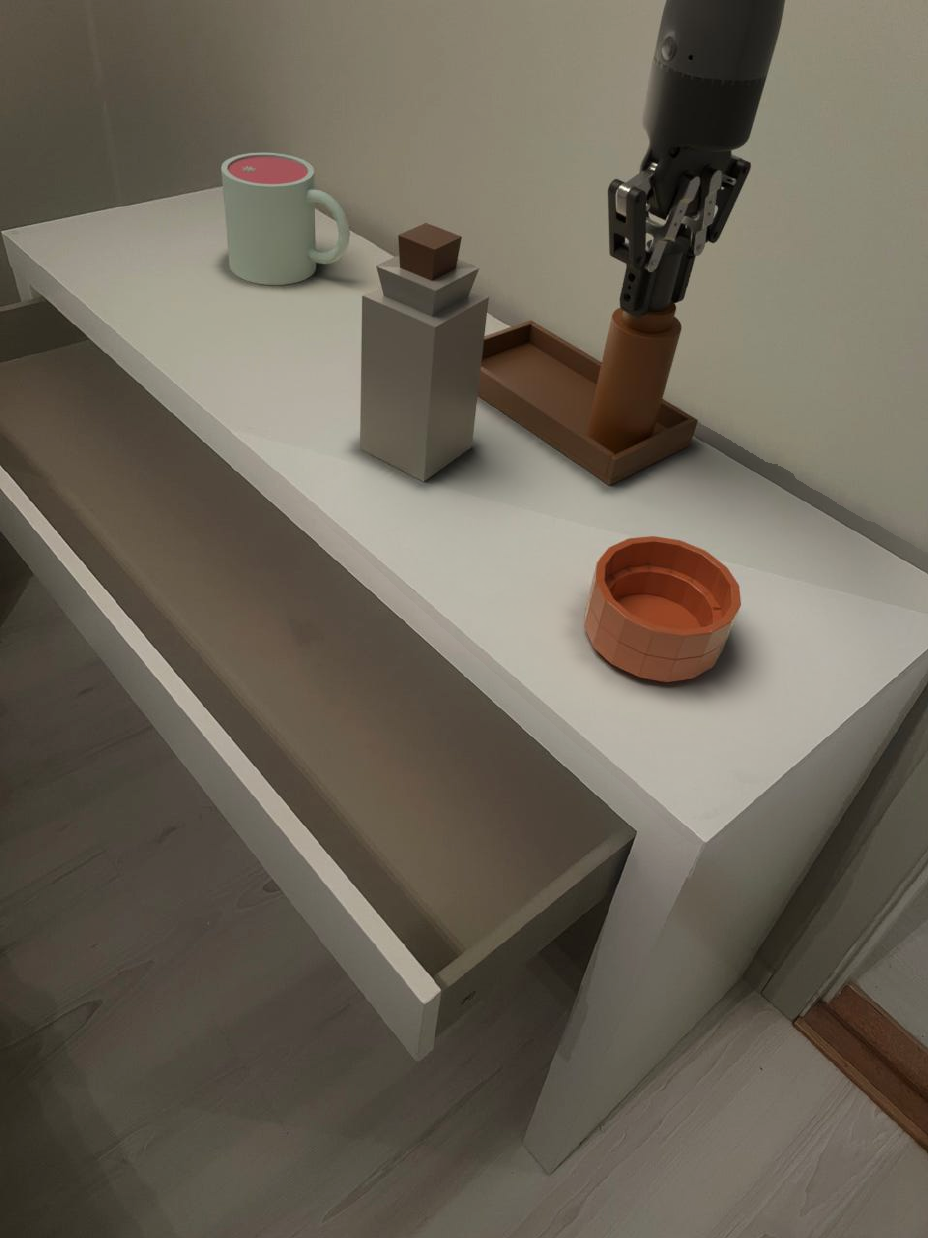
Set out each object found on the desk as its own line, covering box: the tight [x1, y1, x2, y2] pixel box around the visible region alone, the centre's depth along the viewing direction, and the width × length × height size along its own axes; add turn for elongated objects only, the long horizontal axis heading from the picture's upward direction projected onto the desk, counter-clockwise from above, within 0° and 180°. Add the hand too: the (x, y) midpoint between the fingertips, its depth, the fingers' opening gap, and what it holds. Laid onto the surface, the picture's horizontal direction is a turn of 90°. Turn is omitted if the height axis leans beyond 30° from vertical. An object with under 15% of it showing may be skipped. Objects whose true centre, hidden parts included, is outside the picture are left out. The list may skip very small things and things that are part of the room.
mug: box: [220, 152, 351, 286], centre depth 97 cm, size 14×9×10 cm
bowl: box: [583, 535, 742, 683], centre depth 63 cm, size 10×10×5 cm
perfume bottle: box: [359, 222, 490, 482], centre depth 72 cm, size 7×7×18 cm
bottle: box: [587, 238, 683, 455], centre depth 76 cm, size 6×6×17 cm
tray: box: [478, 319, 699, 486], centre depth 84 cm, size 21×11×3 cm, turn 41°
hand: (651, 304), depth 73 cm, fingers closed on bottle, 4 cm apart
